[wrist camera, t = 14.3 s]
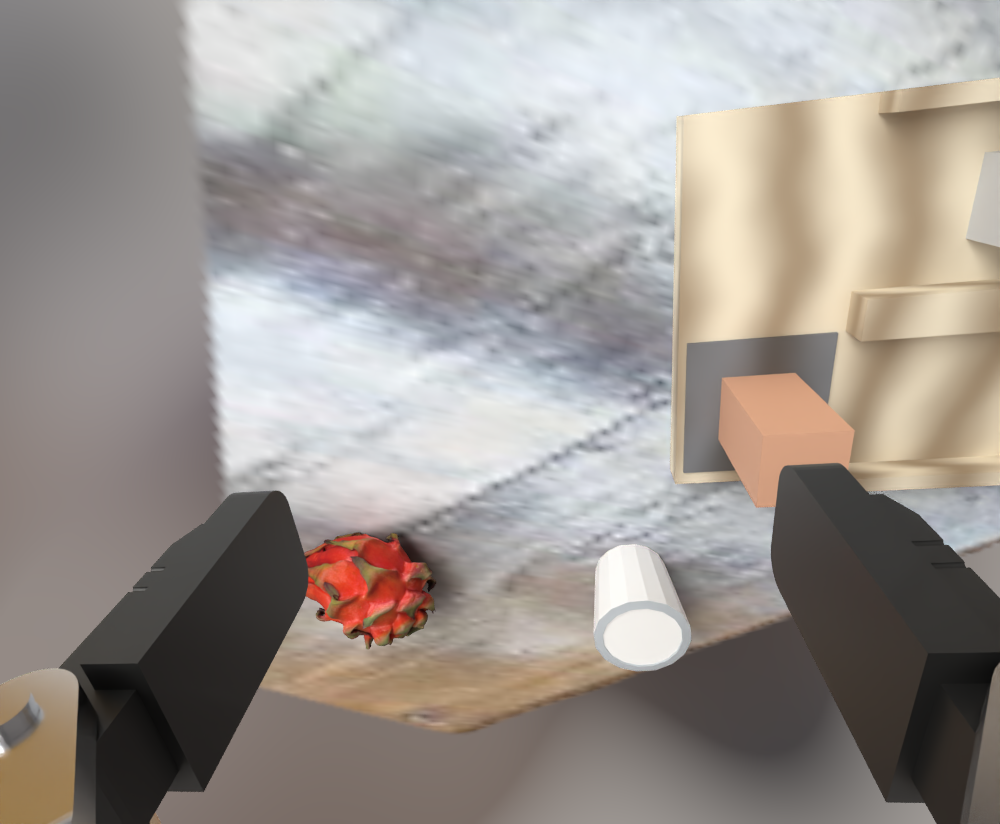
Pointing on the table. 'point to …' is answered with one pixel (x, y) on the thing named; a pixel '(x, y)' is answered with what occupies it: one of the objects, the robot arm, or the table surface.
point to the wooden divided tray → (843, 277)
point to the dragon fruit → (369, 587)
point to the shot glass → (638, 610)
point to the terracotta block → (777, 430)
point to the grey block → (987, 203)
